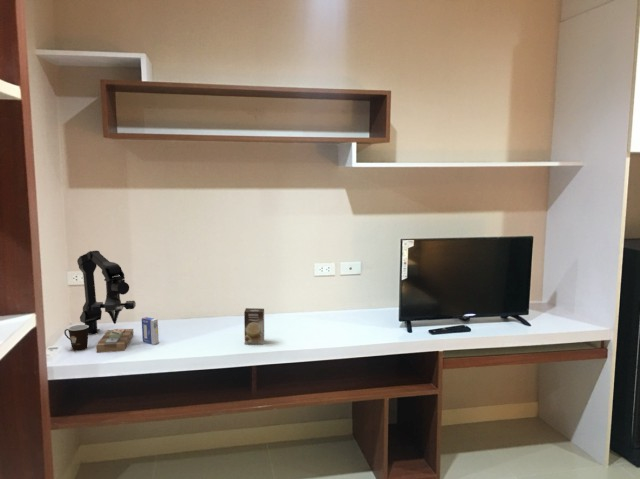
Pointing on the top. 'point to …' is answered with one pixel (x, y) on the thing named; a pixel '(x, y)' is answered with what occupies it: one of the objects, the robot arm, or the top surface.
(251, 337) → the coffee box
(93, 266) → the robot arm
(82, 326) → the coffee mug
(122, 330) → the two-pip button
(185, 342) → the top surface
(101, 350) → the button board
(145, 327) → the walkman
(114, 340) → the one-pip button
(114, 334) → the three-pip button
